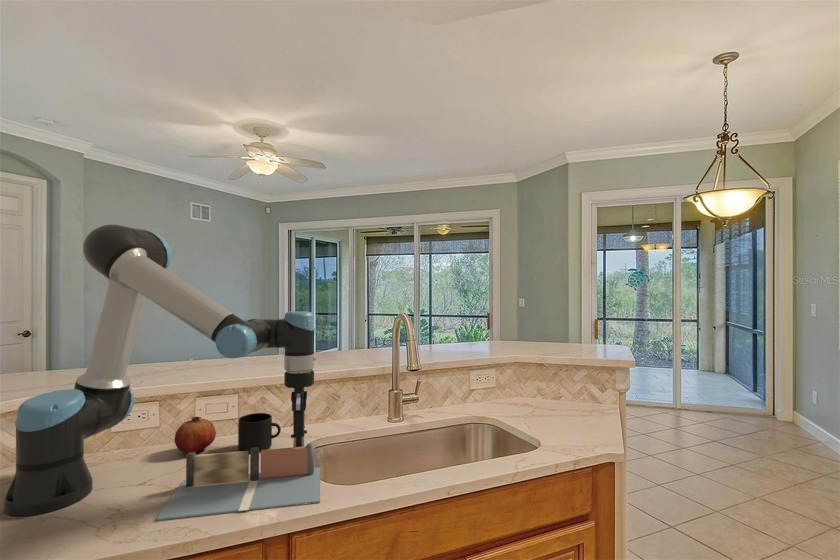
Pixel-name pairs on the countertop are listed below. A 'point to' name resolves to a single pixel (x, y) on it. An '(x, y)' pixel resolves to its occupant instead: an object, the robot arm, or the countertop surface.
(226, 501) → the mat
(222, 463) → the fence fixed
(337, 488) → the countertop surface
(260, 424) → the mug
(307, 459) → the fence panel
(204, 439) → the fruit
